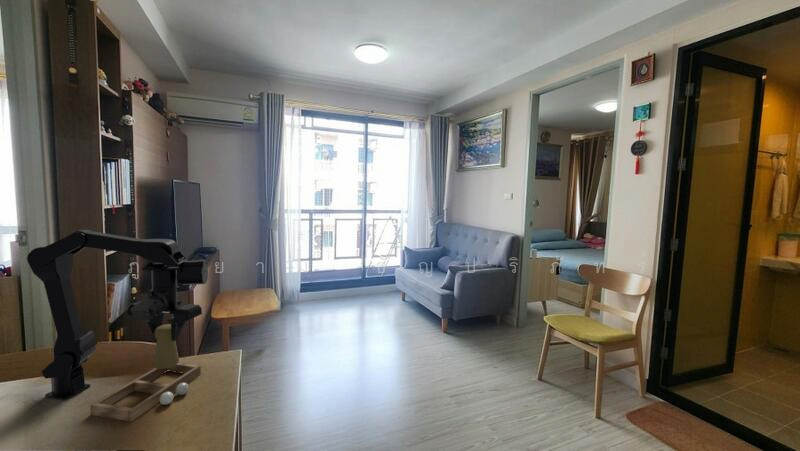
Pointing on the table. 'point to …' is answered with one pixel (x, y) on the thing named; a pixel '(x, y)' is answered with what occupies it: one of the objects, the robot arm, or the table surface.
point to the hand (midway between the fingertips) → (166, 339)
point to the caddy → (142, 385)
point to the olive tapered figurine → (165, 348)
